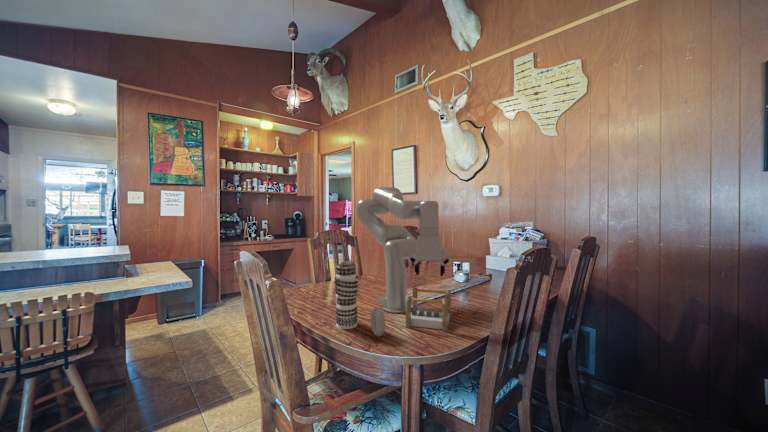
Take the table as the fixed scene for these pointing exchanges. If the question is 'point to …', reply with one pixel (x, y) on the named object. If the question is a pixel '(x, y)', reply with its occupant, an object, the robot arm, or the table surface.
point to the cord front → (426, 300)
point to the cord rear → (431, 291)
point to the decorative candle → (346, 295)
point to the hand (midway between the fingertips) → (429, 274)
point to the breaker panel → (427, 318)
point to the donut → (377, 322)
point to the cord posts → (445, 309)
